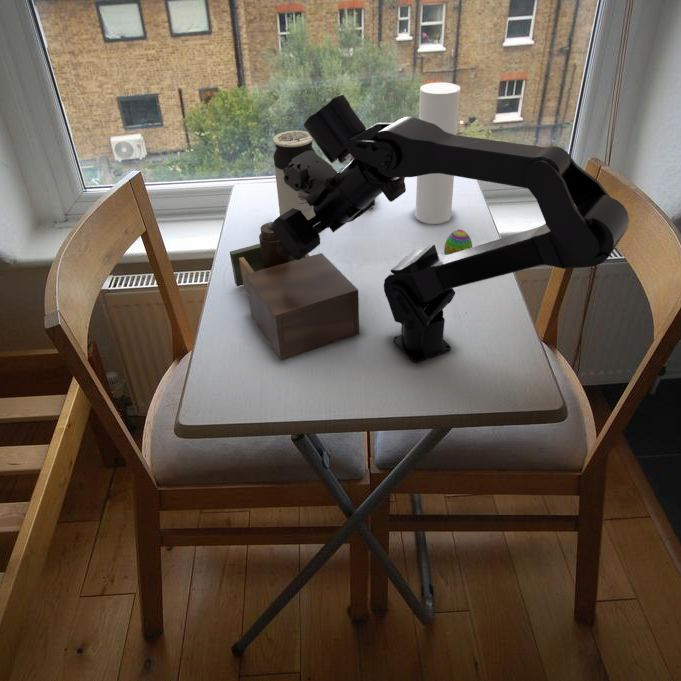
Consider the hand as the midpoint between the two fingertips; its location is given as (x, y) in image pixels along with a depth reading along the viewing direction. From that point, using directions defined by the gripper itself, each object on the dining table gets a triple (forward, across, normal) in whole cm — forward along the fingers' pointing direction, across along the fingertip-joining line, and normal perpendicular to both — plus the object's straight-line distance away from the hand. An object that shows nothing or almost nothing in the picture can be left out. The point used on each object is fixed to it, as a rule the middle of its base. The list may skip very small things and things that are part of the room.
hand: (297, 239), depth 96 cm
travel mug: (+20, -22, -4) cm, 30 cm away
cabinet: (+5, +5, +11) cm, 13 cm away
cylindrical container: (+6, -39, +11) cm, 41 cm away
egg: (-3, -25, +20) cm, 32 cm away
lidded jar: (+10, 0, +3) cm, 11 cm away
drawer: (+12, 0, +4) cm, 12 cm away
